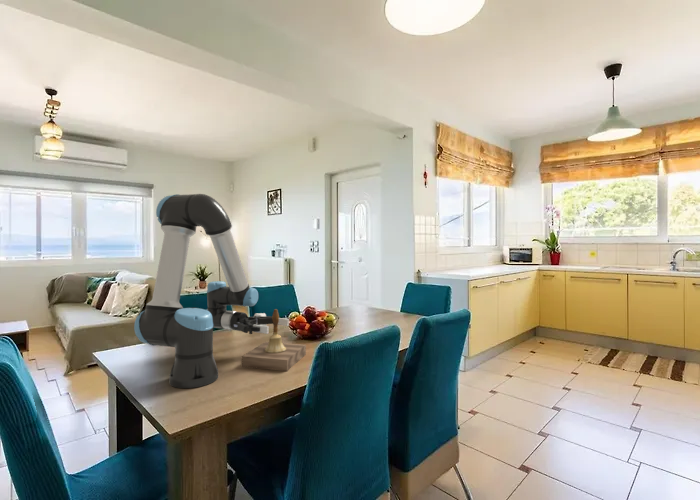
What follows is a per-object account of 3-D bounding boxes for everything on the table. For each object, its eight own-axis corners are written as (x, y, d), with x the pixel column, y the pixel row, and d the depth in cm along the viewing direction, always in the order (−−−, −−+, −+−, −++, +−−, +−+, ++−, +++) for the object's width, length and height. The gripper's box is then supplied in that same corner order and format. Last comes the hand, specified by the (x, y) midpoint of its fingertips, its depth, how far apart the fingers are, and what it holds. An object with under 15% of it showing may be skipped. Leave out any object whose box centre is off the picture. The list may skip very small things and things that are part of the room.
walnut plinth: (287, 371, 132) (287, 360, 132) (241, 366, 136) (241, 356, 136) (305, 354, 152) (305, 344, 151) (265, 351, 156) (265, 341, 155)
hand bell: (261, 348, 145) (262, 308, 145) (281, 346, 149) (282, 306, 149) (268, 354, 138) (268, 312, 138) (289, 351, 142) (289, 310, 142)
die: (261, 332, 191) (271, 315, 194) (247, 323, 191) (257, 307, 194) (262, 333, 198) (271, 318, 202) (248, 326, 198) (258, 310, 202)
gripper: (254, 323, 163) (295, 328, 155) (213, 337, 140) (258, 343, 132) (254, 306, 163) (295, 310, 154) (212, 317, 140) (258, 323, 132)
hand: (278, 326), depth 143 cm, fingers open, 13 cm apart
